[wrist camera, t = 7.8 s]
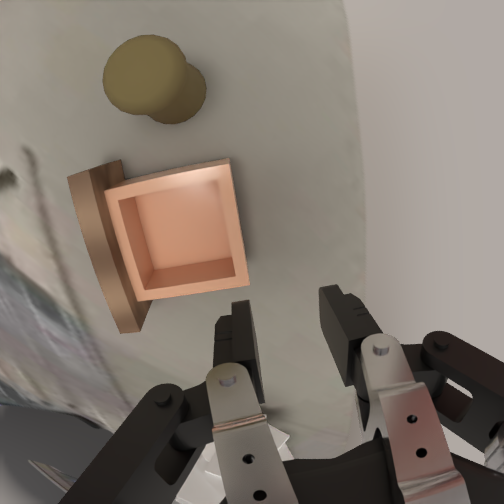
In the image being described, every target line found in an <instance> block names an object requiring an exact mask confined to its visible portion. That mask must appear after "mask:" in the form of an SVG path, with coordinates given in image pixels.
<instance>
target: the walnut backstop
mask: <svg viewBox="0 0 504 504" xmlns="http://www.w3.org/2000/svg"><path fill="white" fill-rule="evenodd" d="M67 179H68V183H69V187H70V191H71V195H72V199H73V203H74V207H75V210H76V214H77V218H78V221H79V224H80V228H81V231H82V234H83V238H84V241H85V244H86V247H87V250H88V253H89V256H90V259H91V262H92V265H93V267H94V270H95V273H96V276H97V278H98V281H99V284H100V286H101V289H102V291H103V294H104V296H105V299H106V301H107V304H108V306H109V309H110V311H111V313H112V316H113V318H114V320H115V323H116V325H117V327H118V329H119V332H120V334H122V333H133V332H140V331H141V328H142V326H143V323H144V321H145V318H146V315H147V313H148V310H149V308H150V305H151V303H152V300H146V301H137V298H136V296H135V293H134V290H133V287H132V284H131V281H130V279H129V276H128V273H127V270H126V267H125V264H124V260H123V257H122V254H121V251H120V248H119V244H118V241H117V238H116V234H115V231H114V227H113V224H112V220H111V217H110V213H109V209H108V205H107V202H106V198H105V194H104V191H105V190H107V189H109V188H111V187H112V186H114V185H116V184H118V183H120V182H122V181H124V180H125V178H124V173H123V169H122V164H121V160H117V161H114V162H110V163H107V164H104V165H100V166H97V167H94V168H91V169H88V170H85V171H83V172H80V173H77V174H74V175H71V176H68V177H67Z"/></svg>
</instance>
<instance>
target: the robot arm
mask: <svg viewBox="0 0 504 504" xmlns="http://www.w3.org/2000/svg"><path fill="white" fill-rule="evenodd" d="M319 309H320V323H321V328H322V332H323V334H324V337H325V339H326V341H327V344H328V346H329V348H330V351H331V353H332V356H333V358H334V360H335V363H336V365H337V368H338V370H339V373H340V375H341V378H342V380H343V382H344V385H345V387H347V386H351V385H354V387H355V389H356V395H355V401H356V406H357V412H358V418H359V424H360V430H361V438H362V444H361V445H359V446H358V447H356V448H354V449H352V450H350V451H348V452H346V453H344V454H342V455H340V456H338V457H336V458H333V459H293V460H287V461H282V460H281V457H280V455H279V452H278V450H277V447H276V444H275V442H274V439H273V436H272V434H271V431H270V428H269V425H268V423H267V420H266V418H265V416H264V415H263V413H262V411H261V408H260V405H259V404H262V403H265V400H264V392H263V385H262V377H261V370H260V362H259V354H258V346H257V339H256V333H255V328H254V322H253V317H252V311H251V306H250V301H249V300H244V301H238V302H232V315H226V316H221V317H220V318H219V320H218V321H217V323H216V324H215V337H214V341H215V342H214V357H213V369H211V370H210V371H209V373H208V374H207V376H206V381H204V382H203V383H202V384H200V385H198V386H195V387H192V388H189V389H187V390H184V391H182V389H181V388H180V387H179V386H177V385H174V384H168V383H167V384H160V385H157V386H155V387H153V388H152V389H150V390H149V391H148V392H147V393H146V394H145V396H144V397H143V398H142V399H141V401H140V402H139V403H138V404H137V406H136V407H135V408H134V410H133V411H132V412H131V413H130V415H129V416H128V417H127V418H126V420H125V421H124V422H123V423H122V425H121V426H120V427H119V428H118V430H117V431H116V432H115V433H114V435H113V436H112V437H111V438H110V440H109V441H108V442H107V443H106V445H105V446H104V447H103V448H102V450H101V451H100V452H99V453H98V455H97V456H96V457H95V458H94V460H93V461H92V462H91V463H90V465H89V466H88V467H87V468H86V470H85V471H84V472H83V473H82V475H81V476H80V477H79V478H78V480H77V481H76V482H75V483H74V485H73V486H72V487H71V488H70V489H69V491H68V492H67V493H66V494H65V496H64V497H63V498H62V499H61V501H60V502H59V503H58V504H172V502H173V500H174V499H175V497H176V495H177V494H178V492H179V491H180V489H181V487H182V486H183V484H184V482H185V481H186V479H187V477H188V476H189V474H190V472H191V471H192V469H193V467H194V466H195V464H196V462H197V460H198V459H199V457H200V455H201V453H202V452H203V450H204V448H205V446H206V444H209V443H212V442H214V444H215V449H216V454H217V459H218V463H219V468H220V472H221V477H222V481H223V486H224V490H225V494H226V496H225V497H224V499H223V500H222V501H221V502H220V503H219V504H504V363H503V362H501V361H499V360H498V359H496V358H494V357H492V356H491V355H489V354H487V353H485V352H483V351H482V350H480V349H478V348H476V347H474V346H472V345H470V344H469V343H467V342H465V341H463V340H461V339H459V338H457V337H456V336H454V335H452V334H450V333H448V332H444V331H434V332H431V333H429V334H427V335H426V336H425V337H424V339H423V343H422V344H410V345H404V344H400V343H399V341H398V340H397V339H396V338H395V337H393V336H391V335H388V334H383V332H382V331H381V329H380V328H379V326H378V325H377V323H376V322H375V320H374V319H373V317H372V316H371V314H369V311H368V310H367V308H365V305H364V304H363V303H362V301H361V300H360V299H359V298H358V297H356V296H354V295H353V294H351V293H350V294H345V295H344V294H343V293H342V291H341V289H340V288H339V286H338V285H337V284H335V285H330V286H325V287H320V288H319ZM448 378H449V379H450V380H452V381H454V382H455V383H457V384H458V385H460V386H462V387H463V388H465V389H467V390H468V391H469V392H470V393H471V394H472V396H473V399H472V398H470V397H469V396H467V395H465V394H464V393H462V392H461V391H459V390H457V389H456V388H454V387H453V386H451V385H449V384H448V383H446V382H447V379H448ZM441 424H442V425H443V426H445V427H446V428H448V429H449V430H451V431H452V432H454V433H455V434H456V435H458V436H459V437H461V438H462V439H464V440H465V441H466V442H468V443H469V444H471V445H473V446H474V447H475V448H477V449H478V450H480V451H481V452H483V453H484V456H485V463H484V466H483V465H480V464H478V463H475V462H473V461H470V460H468V459H465V458H463V457H461V456H459V455H456V454H454V453H451V452H450V451H449V447H448V444H447V441H446V438H445V435H444V432H443V429H442V426H441Z"/></svg>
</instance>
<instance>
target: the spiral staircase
mask: <svg viewBox="0 0 504 504" xmlns="http://www.w3.org/2000/svg"><path fill="white" fill-rule="evenodd" d="M263 415H264V414H263ZM264 416H265V418H266V417H267V416H266V415H264ZM268 425H269V424H268ZM269 428H270V431H271V434H272V436H273V439H274V442H275V444H276V447H277V450H278V452H279V455H280V457H281V460H282V461H287V460H293V459H294V458H293V456H292V454H291V453H290V451H289V449H288V447H287V445H286V444H285V442H286V441H287V440H288V439H289V437H290V436H289V435H287V434H286V433H284V432H282V431H280V430H278V429H276V428H274V427H273V426H271V425H269ZM225 496H226V494H225V490H224V486H223V481H222V477H221V472H220V468H219V463H218V459H217V454H216V449H215V444H214V442H212V443H209V444H206V446H205V448H204V450H203V452H202V453H201V455H200V457H199V459H198V460H197V462H196V464H195V466H194V467H193V469H192V471H191V472H190V474H189V476H188V477H187V479H186V481H185V482H184V484H183V486H182V487H181V489H180V491H179V492H178V494H177V495H176V497H177V499H176V500H175V501H177V502H179V503H181V504H219V503H220V502H221V501H222V500H223V499H224V497H225Z"/></svg>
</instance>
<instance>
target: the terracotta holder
mask: <svg viewBox="0 0 504 504" xmlns="http://www.w3.org/2000/svg"><path fill="white" fill-rule="evenodd" d="M104 194H105V198H106V202H107V205H108V209H109V213H110V217H111V220H112V224H113V227H114V231H115V234H116V238H117V241H118V244H119V248H120V251H121V254H122V257H123V260H124V264H125V267H126V270H127V273H128V276H129V279H130V281H131V284H132V287H133V290H134V293H135V296H136V298H137V301H146V300H153V299H161V298H168V297H175V296H182V295H189V294H195V293H202V292H209V291H215V290H222V289H228V288H235V287H241V286H247V285H250V282H249V274H248V266H247V259H246V253H245V247H244V241H243V235H242V229H241V224H240V218H239V212H238V206H237V200H236V194H235V188H234V182H233V176H232V170H231V164H230V158H227V159H221V160H215V161H210V162H204V163H199V164H194V165H189V166H184V167H179V168H174V169H170V170H165V171H161V172H156V173H152V174H148V175H143V176H139V177H135V178H131V179H127V180H124V181H122V182H120V183H118V184H116V185H114V186H112V187H111V188H109V189H107V190H105V191H104Z"/></svg>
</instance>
